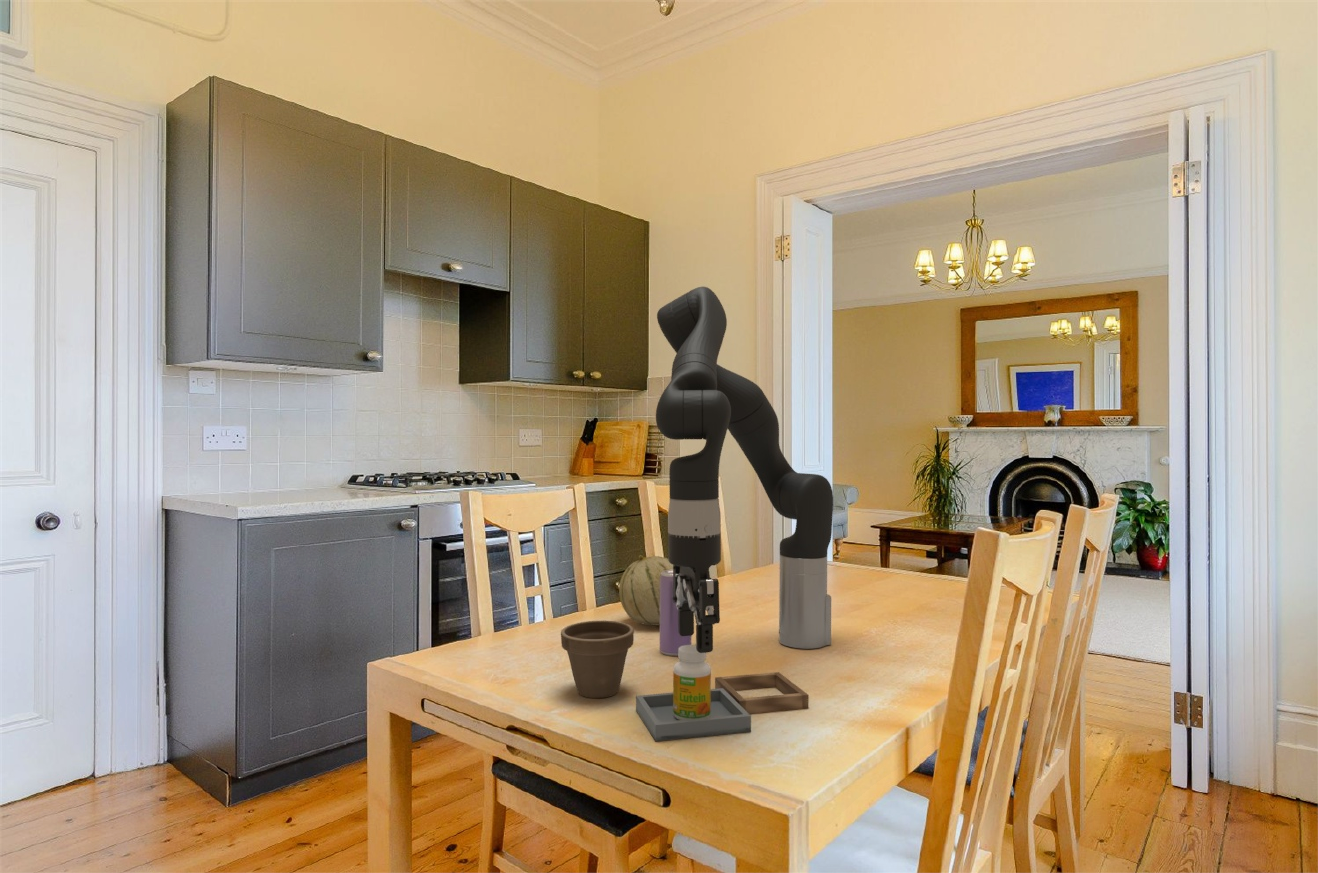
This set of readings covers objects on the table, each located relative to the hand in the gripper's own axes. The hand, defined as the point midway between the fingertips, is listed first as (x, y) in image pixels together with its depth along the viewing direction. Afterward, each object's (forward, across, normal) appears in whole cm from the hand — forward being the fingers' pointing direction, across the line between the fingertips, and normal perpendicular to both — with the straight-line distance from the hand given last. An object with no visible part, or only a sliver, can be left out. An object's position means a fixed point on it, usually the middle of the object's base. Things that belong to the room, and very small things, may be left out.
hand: (695, 643), depth 108 cm
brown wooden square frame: (+11, -6, +12) cm, 18 cm away
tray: (+11, 0, -1) cm, 11 cm away
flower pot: (+11, -15, -11) cm, 22 cm away
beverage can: (+12, -33, +7) cm, 36 cm away
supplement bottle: (+11, 0, 0) cm, 11 cm away
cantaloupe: (+12, -54, +8) cm, 56 cm away
